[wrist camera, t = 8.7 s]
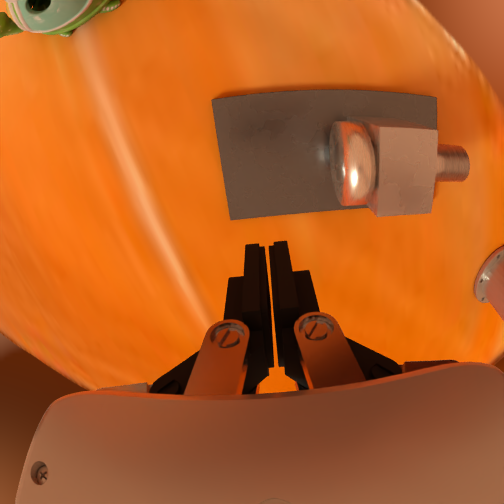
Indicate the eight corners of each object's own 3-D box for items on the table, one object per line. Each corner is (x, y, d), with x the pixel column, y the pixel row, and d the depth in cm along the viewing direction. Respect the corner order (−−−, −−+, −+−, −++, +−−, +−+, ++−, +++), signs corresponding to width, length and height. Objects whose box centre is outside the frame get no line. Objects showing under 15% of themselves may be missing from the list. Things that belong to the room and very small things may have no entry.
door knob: (441, 122, 25) (484, 136, 19) (437, 185, 30) (474, 211, 23) (327, 117, 26) (352, 127, 20) (330, 189, 31) (352, 220, 24)
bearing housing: (433, 96, 25) (483, 106, 17) (428, 201, 33) (467, 235, 25) (212, 99, 27) (195, 102, 19) (231, 217, 34) (224, 261, 26)
